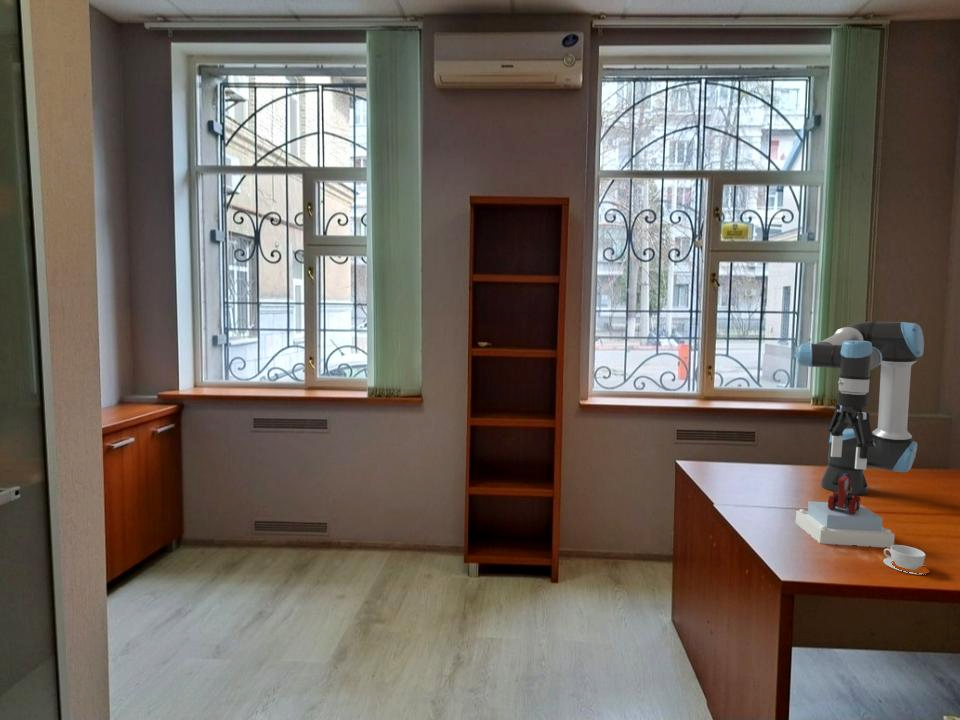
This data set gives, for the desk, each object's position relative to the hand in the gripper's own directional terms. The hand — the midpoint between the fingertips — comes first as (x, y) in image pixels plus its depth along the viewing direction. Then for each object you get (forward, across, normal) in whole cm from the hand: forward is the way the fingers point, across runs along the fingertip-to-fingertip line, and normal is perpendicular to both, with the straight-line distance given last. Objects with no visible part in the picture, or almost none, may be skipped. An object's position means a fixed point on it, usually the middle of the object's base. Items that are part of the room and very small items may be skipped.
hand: (847, 462), depth 168 cm
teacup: (+23, +21, +6) cm, 31 cm away
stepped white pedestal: (+22, 0, 0) cm, 22 cm away
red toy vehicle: (+14, 0, 0) cm, 15 cm away
